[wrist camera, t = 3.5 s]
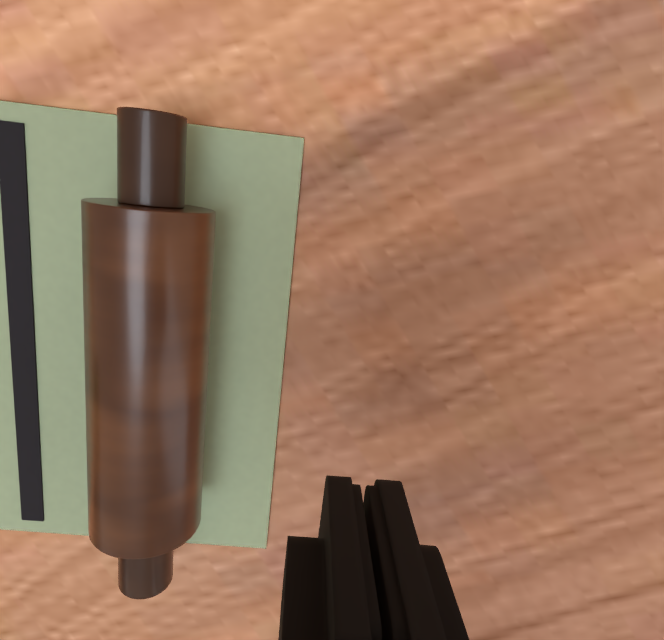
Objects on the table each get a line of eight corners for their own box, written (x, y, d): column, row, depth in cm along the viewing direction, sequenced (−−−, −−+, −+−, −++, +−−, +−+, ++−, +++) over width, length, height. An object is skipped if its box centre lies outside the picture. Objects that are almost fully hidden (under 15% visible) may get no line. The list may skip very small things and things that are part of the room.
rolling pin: (230, 128, 19) (205, 112, 14) (207, 546, 24) (183, 626, 19) (112, 113, 18) (50, 92, 14) (114, 540, 23) (69, 619, 19)
